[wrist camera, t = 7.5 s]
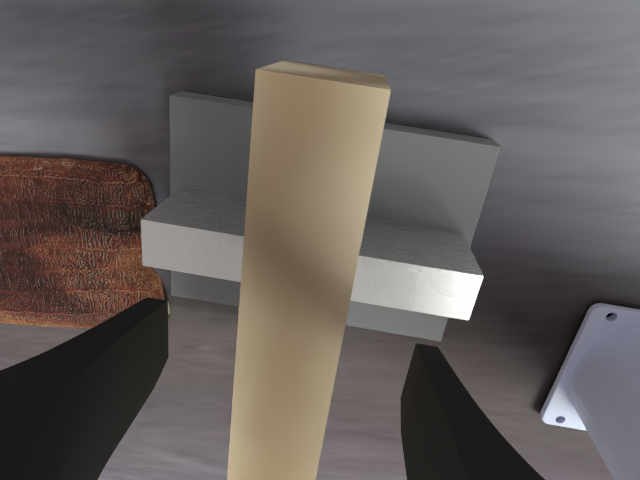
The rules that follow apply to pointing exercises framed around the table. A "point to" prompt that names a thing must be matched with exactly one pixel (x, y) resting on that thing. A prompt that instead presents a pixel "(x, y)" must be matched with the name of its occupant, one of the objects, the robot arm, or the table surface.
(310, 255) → the maple bar
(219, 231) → the steel ridge
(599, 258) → the table surface
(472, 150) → the grey slab
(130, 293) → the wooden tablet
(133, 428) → the table surface
